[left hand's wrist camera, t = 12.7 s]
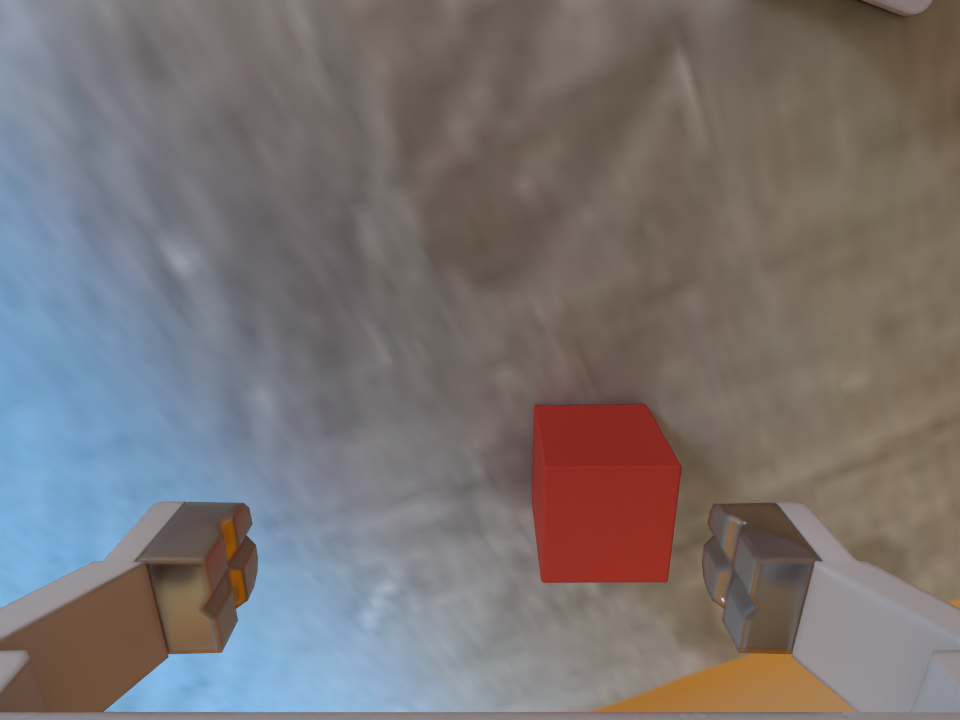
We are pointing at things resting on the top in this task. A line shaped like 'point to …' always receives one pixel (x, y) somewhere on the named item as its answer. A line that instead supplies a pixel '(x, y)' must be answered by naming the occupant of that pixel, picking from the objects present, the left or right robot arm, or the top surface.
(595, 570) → the block
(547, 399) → the top surface
